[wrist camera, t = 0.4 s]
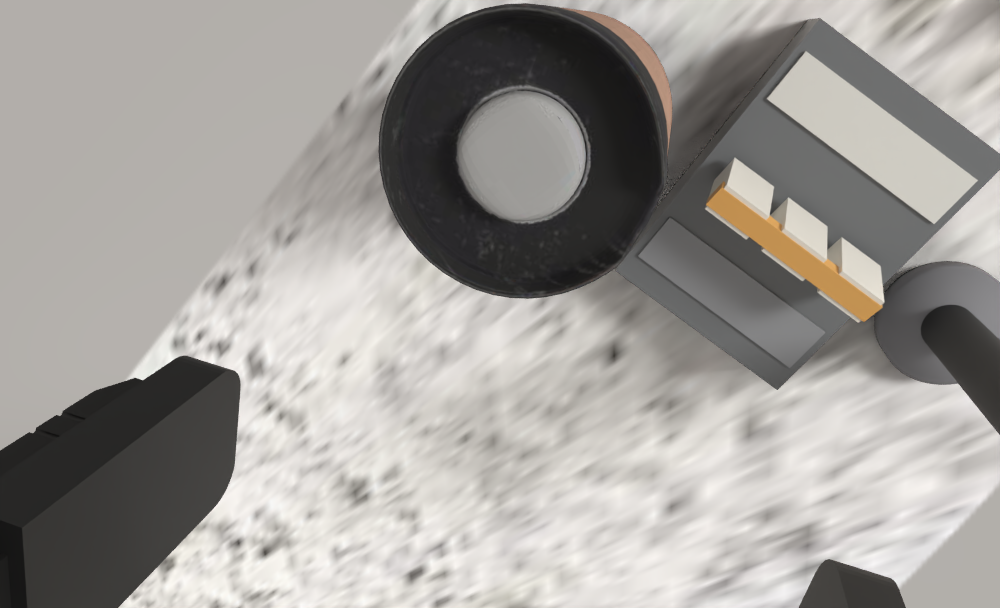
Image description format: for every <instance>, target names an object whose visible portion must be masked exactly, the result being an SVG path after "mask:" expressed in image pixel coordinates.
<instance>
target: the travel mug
mask: <svg viewBox="0 0 1000 608" xmlns="http://www.w3.org/2000/svg"><path fill="white" fill-rule="evenodd" d="M671 123H672V99H671V92H670V87H669V83H668V79H667V76H666V74H665V71H664V68H663V66H662V64H661V63H660V61H659V59H658V57H657V55H656V54H655V52H654V51H653V49H652V48H651V47H650V45H649V44H648V43H647V42H646V41H645V40H644V39H643V38H642V37H641V36H640V35H639V34H637V33H636V32H635V31H634V30H632V29H631V28H630V27H628V26H626V25H625V24H623V23H621V22H619V21H618V20H615V19H613V18H610V17H608V16H606V15H602V14H598V13H594V12H589V11H581V10H574V9H567V8H559V7H553V6H546V5H536V4H526V3H525V4H505V5H499V6H494V7H489V8H484V9H481V10H478V11H475V12H472V13H469V14H466V15H464V16H462V17H460V18H458V19H456V20H454V21H452V22H450V23H448V24H447V25H446V26H444V27H443V28H441V29H440V30H438V31H437V32H436V33H434V34H433V35H431V36H430V37H429V38H428V39H427V40H426V41H425V42H424V43H423V44H422V45H421V46H420V47H419V48H417V50H416V51H415V52H414V53H413V55H412V56H411V57H410V58H409V59H408V61H407V62H406V63H405V65H404V66H403V68H402V70H401V71H400V73H399V74H398V76H397V78H396V79H395V82H394V84H393V86H392V88H391V91H390V93H389V95H388V98H387V101H386V104H385V108H384V111H383V114H382V120H381V126H380V132H379V161H380V171H381V176H382V181H383V186H384V189H385V192H386V195H387V198H388V201H389V204H390V207H391V209H392V211H393V213H394V215H395V217H396V219H397V221H398V223H399V225H400V226H401V228H402V229H403V231H404V233H405V234H406V236H407V237H408V238H409V240H410V241H411V242H412V243H413V245H414V246H415V247H416V248H417V250H418V251H419V252H420V253H421V254H422V255H423V256H424V257H425V258H426V259H427V260H428V261H429V262H430V263H432V264H433V265H434V266H436V267H437V268H438V269H439V270H441V271H442V272H443V273H445V274H446V275H448V276H450V277H451V278H453V279H455V280H457V281H458V282H460V283H462V284H464V285H467V286H469V287H471V288H473V289H476V290H479V291H482V292H485V293H489V294H492V295H497V296H503V297H509V298H527V299H529V298H541V297H548V296H553V295H558V294H563V293H566V292H569V291H571V290H574V289H577V288H580V287H582V286H584V285H587V284H589V283H591V282H593V281H595V280H597V279H599V278H600V277H602V276H604V275H606V274H607V273H609V272H610V271H612V270H613V269H615V268H616V267H617V266H618V265H619V264H620V263H621V262H622V261H623V260H624V259H625V258H626V256H627V255H628V253H629V252H630V250H631V248H632V247H633V245H634V244H635V242H636V241H637V239H638V238H639V236H640V235H641V233H642V231H643V230H644V228H645V227H646V225H647V224H648V222H649V220H650V218H651V216H652V214H653V212H654V210H655V208H656V206H657V203H658V201H659V198H660V196H661V194H662V192H663V190H664V187H665V184H666V179H667V166H668V162H667V156H668V148H669V140H670V131H671Z"/></svg>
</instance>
